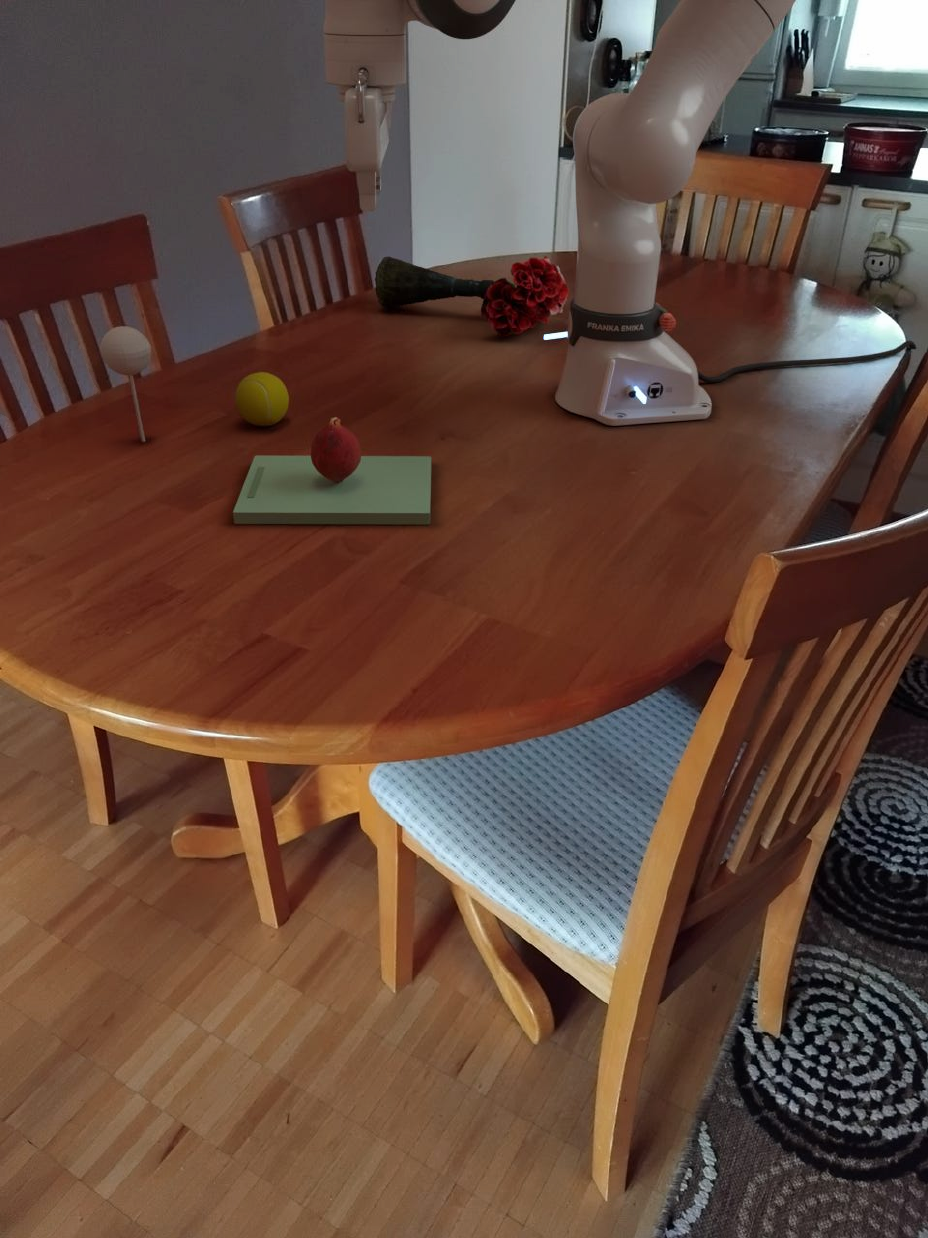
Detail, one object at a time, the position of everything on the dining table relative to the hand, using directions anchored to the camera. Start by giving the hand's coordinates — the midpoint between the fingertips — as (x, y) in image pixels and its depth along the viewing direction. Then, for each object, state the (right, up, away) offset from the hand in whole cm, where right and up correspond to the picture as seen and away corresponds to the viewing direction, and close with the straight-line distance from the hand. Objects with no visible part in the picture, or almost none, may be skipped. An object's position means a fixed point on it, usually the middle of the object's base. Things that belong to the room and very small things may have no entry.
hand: (371, 201), depth 110 cm
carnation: (+12, +4, +57) cm, 59 cm away
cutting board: (-4, -34, +2) cm, 34 cm away
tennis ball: (-16, -22, +19) cm, 34 cm away
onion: (-4, -33, +1) cm, 33 cm away
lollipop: (-31, -26, +13) cm, 43 cm away
